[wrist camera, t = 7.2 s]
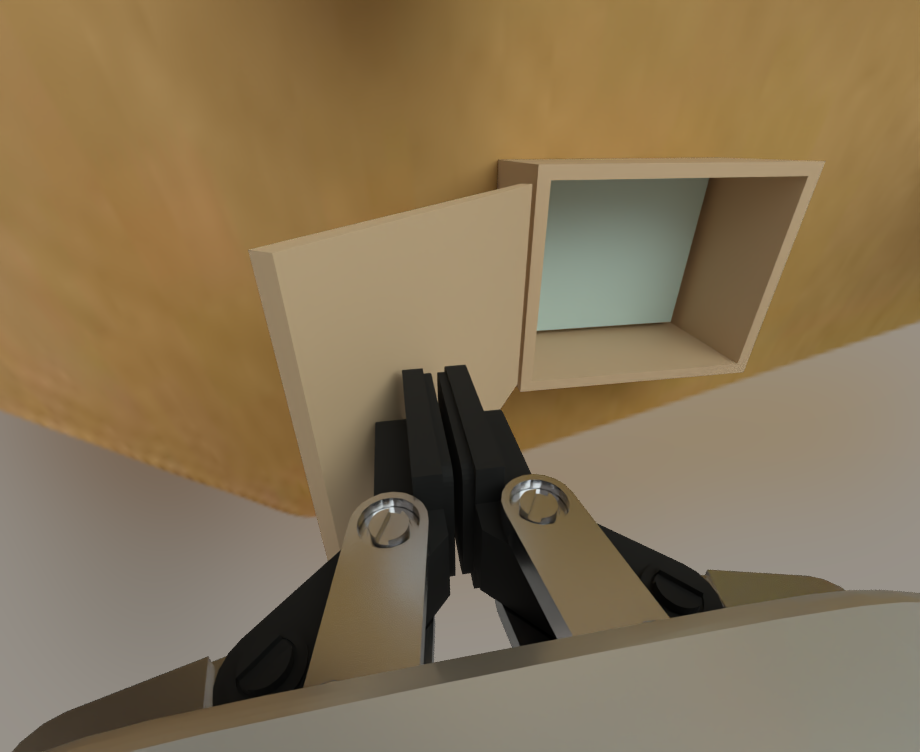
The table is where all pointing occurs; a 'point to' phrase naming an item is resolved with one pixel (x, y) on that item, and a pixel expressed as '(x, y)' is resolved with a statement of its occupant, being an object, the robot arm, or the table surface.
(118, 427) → the table surface
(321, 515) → the lid
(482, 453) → the robot arm
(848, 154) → the table surface
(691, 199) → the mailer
